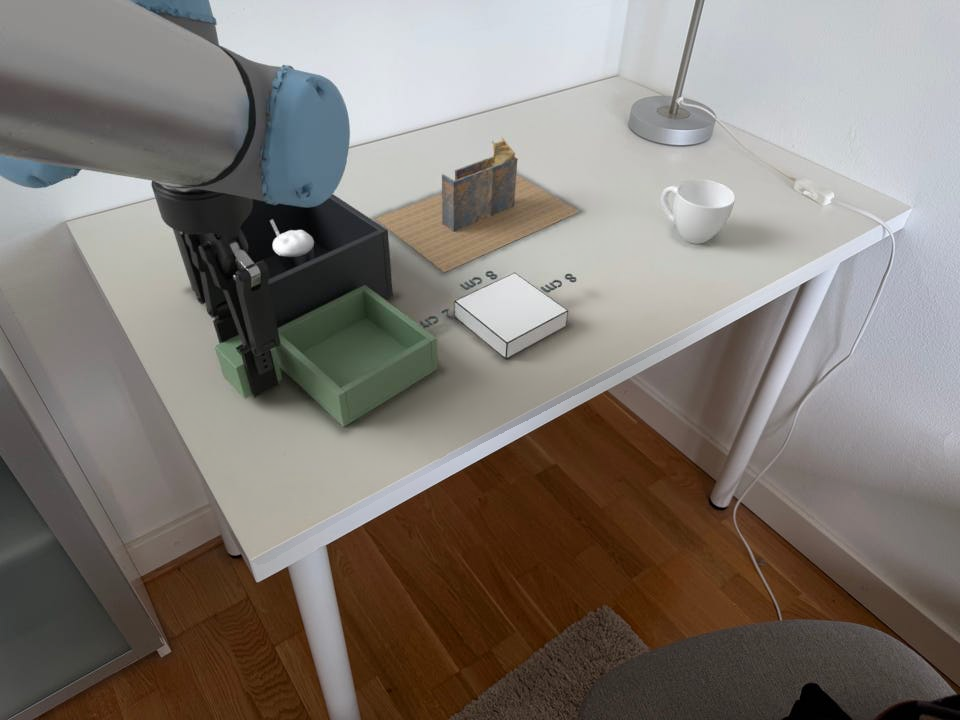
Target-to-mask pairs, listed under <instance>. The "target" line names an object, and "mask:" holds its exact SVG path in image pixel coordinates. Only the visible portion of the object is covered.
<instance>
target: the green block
mask: <svg viewBox="0 0 960 720" xmlns="http://www.w3.org/2000/svg"><path fill="white" fill-rule="evenodd" d="M241 344H242V341H241V338H240V335H237V336H235V337H233V338H231V339H229V340H226V341H224V342H222V343H220V344H219V343H218V344H216V345H214V350H215V352H216V356H217V359H218V363H219V366H220V369H221V372H222V376H223V378H224V379H225V381H227V382H228V383H229V384H230V385H231V386H232V387H233V388H234V389H235V391H237V392H238V393H239V394H240V396H242V397H243V399H245V400H247V399H248V398H250V397H252V396H254V395H253V394H252V392H251V389H250V385H249V381H248V378H247V374H246V370H245V367H244V363H243V360H242V356H241V355H240V354H239V353H238V352H237V350H236V347H238V346H239V345H241ZM271 354H272V358H273V363H274V367H275V371H276V375H277V380H278V382H280V381H282V380H283V376H282V372H281V367H280V366H279V363H278V358H277V354H276V350H275V348H273V349H271Z"/></svg>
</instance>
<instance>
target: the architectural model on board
mask: <svg viewBox="0 0 960 720" xmlns="http://www.w3.org/2000/svg"><path fill="white" fill-rule="evenodd" d="M491 144H492V150H493V155H492V156H491V157H487V158H485V159H482V160H479V161H477V162H473V163H471V164H468V165H466V166H463V167H459V168H457V169H454V179H452V178H451V177H449V176H448V175H446V174H444V173H443V174H441V193H439V194H436V195H433V196H430V197H428V198H426V199H423V200H420V201H418V202H415V203H412V204H409V205H407V206H404V207H402V208H400V209H397V210H394V211H391V212H389V213H386V214H384V215H381V216H377V217H375V218H374V219H375V220H376V222H379V223H380V225H382V226H383V227H384V228H385V229H387V230H388V231H390V232H391V233H393V234H394V235H395V236H397V237H398V238H399V239H400V240H402V241H403V242H404V243H406V244H407V245H408V246H409V247H411V248H412V249H413V250H415V251H416V252H417V253H419V254H420V255H421V256H423V257H424V258H425V259H426V260H427V261H429V262H430V263H432V264H433V265H434V266H436V268H438V269H439V270H441V271H442V272H443V273H446V272H448V271H451V270H453V269H455V268H457V267H460V266H462V265H464V264H466V263H468V262H470V261H473V260H475V259H477V258H480V257H482V256H484V255H487V254H488V253H490V252H493V251H495V250H497V249H499V248H502V247H504V246H507V245H508V244H510V243H513V242H516V241H517V240H519V239H522V238H524V237H526V236H529V235H531V234H534V233H535V232H538V231H540V230H542V229H544V228H547V227H548V226H551V225H553V224H555V223H557V222H560V221H562V220H565V219H567V218H569V217H571V216H573V215H576V214H579V213H580V210H578V209H576V208H575V207H573V206H571V205H569V204H567V203H566V202H564V201H562V200H561V199H559V198H557V197H555V196H554V195H552V194H550V193H549V192H547V191H545V190H544V189H542V188H540V187H538V186H537V185H535V184H534V183H532V182H530V181H528V180H527V179H525V178H524V177H522V176H520V175H518V174H517V172H518V157H516V152H515V151H514V149H512V147H510V146H509V144H508V143H507V141H506V140H505V139H504V137H501V140H500V141H497V142H494V140H491Z"/></svg>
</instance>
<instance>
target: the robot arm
mask: <svg viewBox="0 0 960 720" xmlns="http://www.w3.org/2000/svg"><path fill="white" fill-rule="evenodd" d="M217 24H218V23H217V19H216V17H215V16H214V14H213V9H212V7H211V3H210V0H0V177H2V178H4V179H5V180H7V181H9V182H11V183H13V184H16V185H18V186H21V187H25V188H29V189H30V188H31V189H42V188H48V187H50V186H53V185H56V184H58V183H60V182H62V181H65V180H68V179H72V178H74V177H76V176H78V175H79V173H80V171H82V170H84V171H91V172H96V173H102V174H109V175H115V176H122V177H128V178H133V179H140V180H145V181H146V180H147V181H151V184H150V185H151V189H152V192H153V195H154V198H155V201H156V204H157V208H158V211H159V214H160V217H161V219H162V221H163V222H164V223H165V225H167V226H168V227H169V228H170V229H172V230H173V229H175V232H176V234H177V236H178V239H179V242H180V245H181V248H182V252H183V255H184V258H185V261H186V264H187V267H188V271H189V274H190V277H191V280H192V283H193V286H194V290H195V292H194V293H195V296H196V300H197V302H198V303H199V304H201V305H204V304H205V306H206V307H205V308H206V312H207V315H208V316H210V317H211V318H213V320H212V323H213V326H214V329H215V333H216V337H217V339H218V344H220V343H222V342H224V341H226V340H229V339H231V338H233V337H235V336H237V335H240V338H241V341H242V344H241V345H239V346H238V347H236V350H237V352H238V353H239V354H240V355H241V356H242V360H243V363H244V367H245V370H246V374H247V378H248V381H249V385H250V389H251V392H252V394H253V395H252V396H253V397H254V398H257V397H259V396H261V395H263V394H264V393H266V392H268V391H270V390H272V389H274V388H276V387H278V386H279V381H278V380H277V375H276V371H275V367H274V363H273V358H272V354H271V349H273V348H275V347H277V346H279V345H280V344H281V342H280V337H279V333H278V328H277V323H276V318H275V313H274V308H273V304H272V299H271V294H270V289H269V284H268V282H269V269H268V266H267V264H266V263H265V262H264V261H260V262H258V263H255V264H254V262H253V261H252V260H251V259H250V257H249V254H248V249H249V245H248V242H247V239H246V236H245V234H244V233H243V231H241V230H240V228H241V225H242V224H243V222H244V221H245V219H246V218H247V217H248V216H249V214H250V213H251V211H252V208H253V200H252V199H255V200H260V201H264V202H266V203H269V204H273V205H277V204H285V205H292V206H299V207H315V206H318V205H320V204H322V203H323V202H324V201H326V200H327V199H328V198H330V196H331V195H332V194H334V193H335V191H336V190H337V188H338V187H339V185H340V183H341V181H342V178H343V176H344V173H345V170H346V166H347V163H348V161H347V160H348V155H349V149H350V140H351V125H350V118H349V112H348V108H347V104H346V102H345V99H344V97H343V96H342V93H341V91H340V89H339V88H338V87H337V86H336V85H335V83H334V82H333V81H332V80H330V79H329V78H327V77H325V76H324V75H322V74H318V73H317V74H316V73H312V72H307V71H303V70H300V69H299V70H298V69H296V68H294V66H292V65H290V64H289V65H287V64H283V65H281V66H277V65H269V64H265V63H260V62H257V61H254V60H251V59H248V58H246V57H244V56H242V55H241V54H238V53H236V52H234V51H232V50H231V49H228V48H227V47H225V46H222V45H220V43H219V38H218V32H217Z"/></svg>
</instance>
